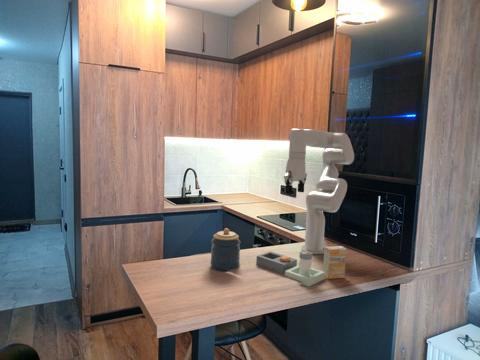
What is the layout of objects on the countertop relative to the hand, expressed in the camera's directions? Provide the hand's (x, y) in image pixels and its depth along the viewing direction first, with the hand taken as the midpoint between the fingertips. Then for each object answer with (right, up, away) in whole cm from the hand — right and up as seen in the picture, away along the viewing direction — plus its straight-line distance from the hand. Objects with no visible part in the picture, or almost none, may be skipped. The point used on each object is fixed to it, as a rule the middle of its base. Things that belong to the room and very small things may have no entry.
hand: (294, 192), depth 167 cm
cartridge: (+2, -34, -15) cm, 38 cm away
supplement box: (+15, -36, -12) cm, 41 cm away
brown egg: (-6, -33, -8) cm, 35 cm away
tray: (+2, -35, -15) cm, 39 cm away
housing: (-9, -34, -5) cm, 35 cm away
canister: (-32, -33, -6) cm, 46 cm away
